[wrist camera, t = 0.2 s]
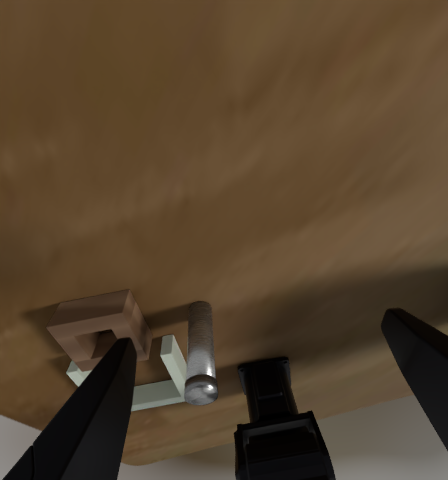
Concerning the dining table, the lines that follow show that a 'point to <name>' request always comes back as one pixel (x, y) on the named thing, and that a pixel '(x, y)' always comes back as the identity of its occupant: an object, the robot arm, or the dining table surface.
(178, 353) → the open c-shaped clip
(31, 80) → the dining table surface
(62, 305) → the walnut block
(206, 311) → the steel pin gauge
